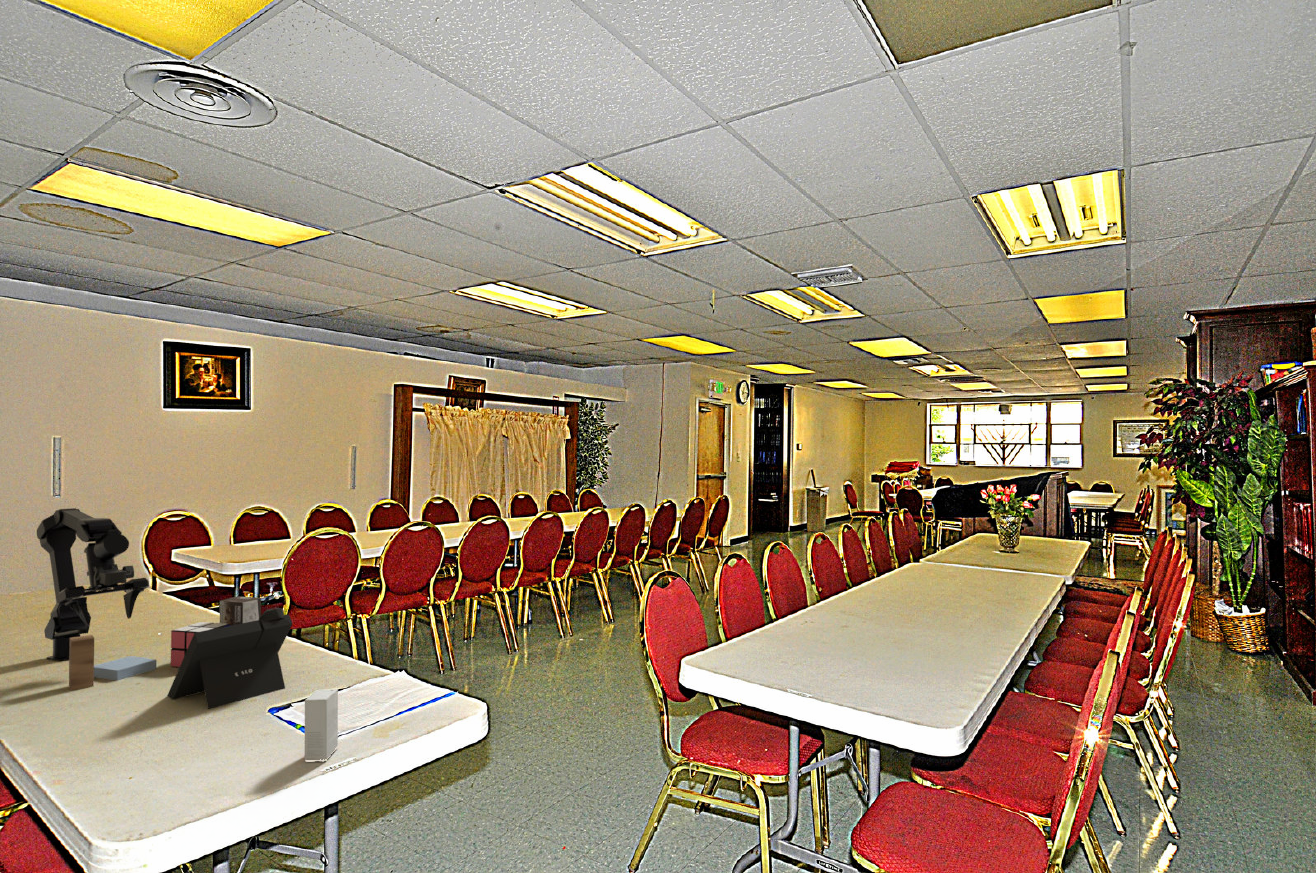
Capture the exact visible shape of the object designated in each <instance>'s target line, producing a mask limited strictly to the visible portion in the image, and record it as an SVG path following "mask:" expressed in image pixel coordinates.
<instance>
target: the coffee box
mask: <svg viewBox="0 0 1316 873" xmlns="http://www.w3.org/2000/svg"><path fill="white" fill-rule="evenodd" d="M261 615H262V597H252V596H249V597H248V596H234V597H229V598H225V599H222V600H219V623H226V624H230V626H231V625H236V624H241V623H247V622H252V621H257V620H259V618H260V617H261Z"/></svg>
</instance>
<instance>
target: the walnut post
mask: <svg viewBox="0 0 1316 873" xmlns="http://www.w3.org/2000/svg"><path fill="white" fill-rule="evenodd" d="M94 663H95V637H94V635H93V634H88V635H80V636H79V637H72V638H70V649H69V659H68V665H69V666H68V687H69V690H70V691H77V690H80V689H86V688H91V687H92V686H93V687H94V681H95V680H94V679H95V677H94V666H95V664H94Z"/></svg>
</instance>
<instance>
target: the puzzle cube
mask: <svg viewBox="0 0 1316 873" xmlns="http://www.w3.org/2000/svg"><path fill="white" fill-rule="evenodd" d="M226 626H230V624H226V623H220V622H207V621H199V622H196V623H192V624H189V625H185V626H181V627H177V628H175V629H172V630H171V631H170V636H171V637H170V648H171V649H170V667H171V668H179V667H180V665H181V663H182V661H183V658H184V656H185V654H186V651H187V649H188V647H189V644H190V642H191V640H192V638H193V635H194V633H196V632H201V631H206V630H211V629H216V628H221V627H226Z"/></svg>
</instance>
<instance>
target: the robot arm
mask: <svg viewBox="0 0 1316 873" xmlns="http://www.w3.org/2000/svg"><path fill="white" fill-rule="evenodd" d="M122 533H123V532H122V531H121V530H120V529H119V528H118V527H117V525H116V524H115V523H114V521H113V520H112V519H111V518H105V517H93V516H90V515H89V514H87V513H85V512H82V511H81V509H79V508H76V507H75V508H74V507H73V508H72V507H71V508H59V509H57V510H55V511H54V513H53V514H52V515H50V516H48V517H46V518H44V519H42V520H41V522H40V523H39V525H38V526H37V528H36V537H37V539H38V540H39V543H40V547H41V548H42V549H43V550H45V552H47V553H48V555H49V560H50V568H51V573H52V579H53V580H52V582H53V587H54V588H53V589H54V593H55V594H54V596H55V603H56V604H55V605H54V606H53V608H52V610H51V612H50V613H49V614H50V618H49V620H48V622H47V625H46V626H45V628H44V638H46V639H49V640H51V641H52V655H51V656H50V655H49V656H47V657H46V660H51V661H58V662H64V661H67V660H68V661H69V649H70V638H72V637H79V636H81V635H83V634H88V633H89V631H90V625H91V621H92V616H91V614H90V612H89V611H88V603H87V600H88V597H87V596H96V595H101V594H102V595H103V594H109V593H111V594H112V593H117V592H122V591H123V592H124V593H125V594H123V603H124V609H125V615H126V618H127V619H128V620H129V619H131V618H132V615H133V612H134V607H135V603H136V601H137V598H138V596H139V594H141V593H142V592H144V591H145V589H148V588H150V581H149V579H148V578H146V577H140V578H134V577H135V568H134V565H125V566H123V567H122V569H119V566H118V564H117V563H115V558H117V557H118V556H120V555H122V554H124V553H125V552H126V551H127V550H128V549H129V546H130V541H129V539H128V538H127V537H126V536H125V535H124V534H122ZM77 538H78V539H79V540H80V541H81V542H84V543H88V544H87V546H86V547H85V548H84V551H83V553H85V556H86V565H87V571H86V576H87V577H89V578H88V580H89V585H90V586H88V588H85V587H84V586H83V585H80V586H77V585H76V577H75V571H74V565H73V558H72V550H71V549H72V547H73V546H74V543H75V542H76V541H77ZM127 579H130V580H127Z"/></svg>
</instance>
